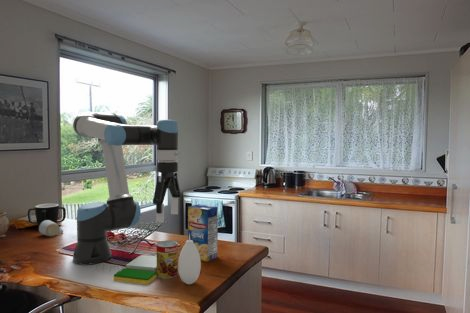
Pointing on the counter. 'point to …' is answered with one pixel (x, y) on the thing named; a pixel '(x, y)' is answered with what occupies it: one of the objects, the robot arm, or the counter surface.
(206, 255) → the beverage box
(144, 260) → the block
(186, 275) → the sauce bottle
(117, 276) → the dish sponge
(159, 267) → the canned food
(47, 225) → the ceramic mug
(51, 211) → the mug
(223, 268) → the counter surface
